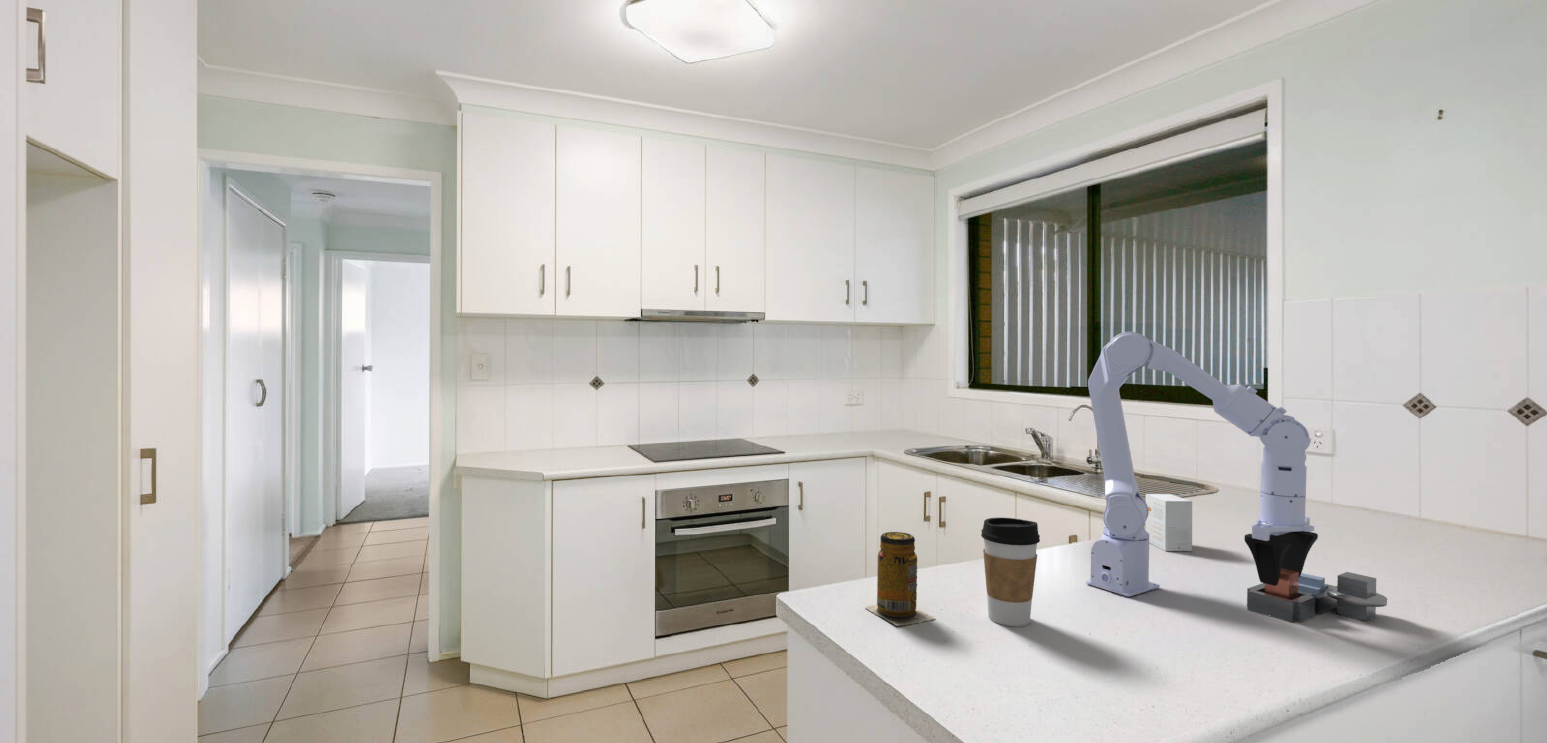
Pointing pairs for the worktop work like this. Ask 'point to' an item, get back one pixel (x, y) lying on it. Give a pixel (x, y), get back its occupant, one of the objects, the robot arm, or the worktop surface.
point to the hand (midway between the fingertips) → (1280, 579)
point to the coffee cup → (1010, 568)
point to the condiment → (897, 580)
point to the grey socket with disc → (1322, 600)
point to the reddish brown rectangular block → (1285, 585)
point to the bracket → (1311, 584)
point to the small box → (1169, 522)
